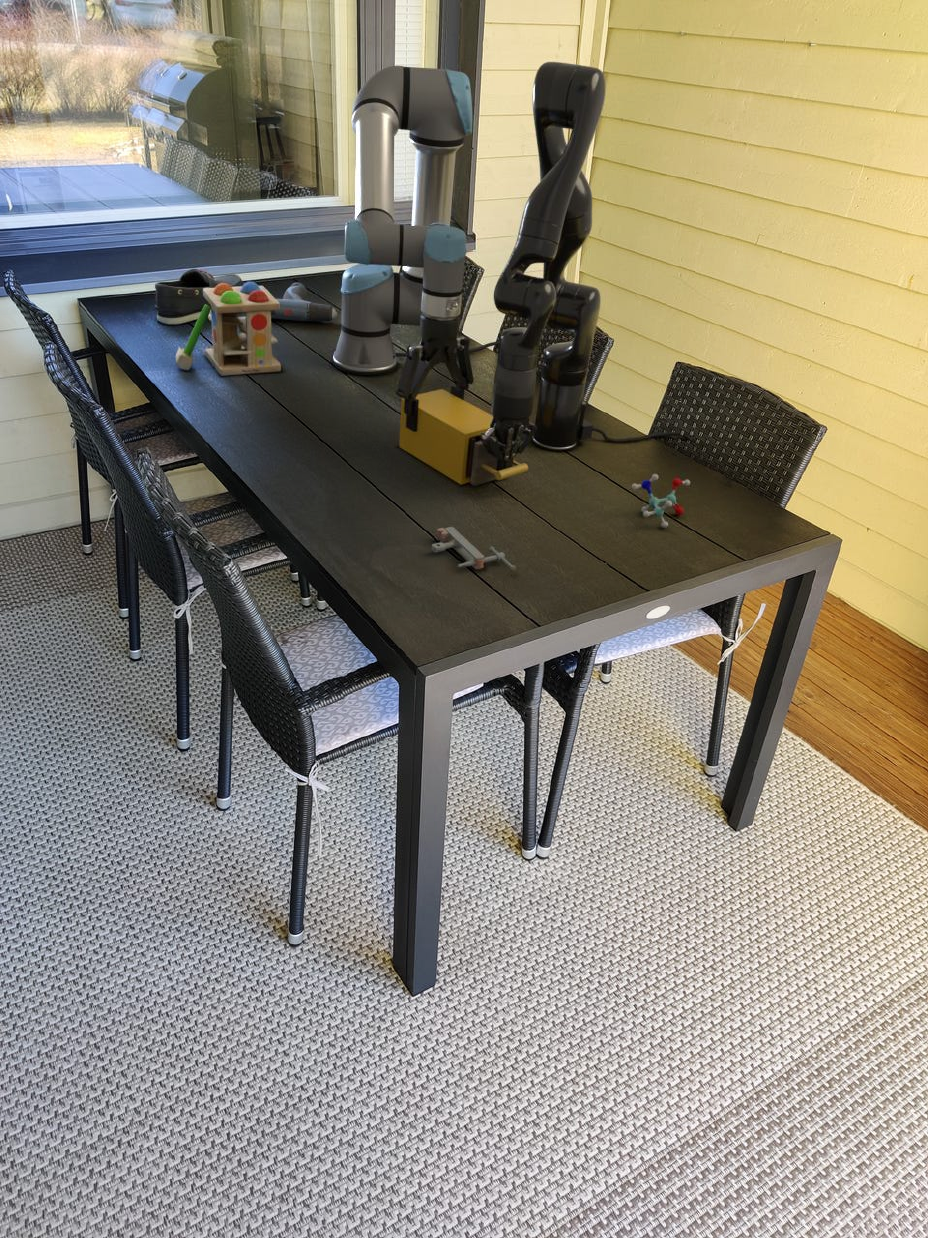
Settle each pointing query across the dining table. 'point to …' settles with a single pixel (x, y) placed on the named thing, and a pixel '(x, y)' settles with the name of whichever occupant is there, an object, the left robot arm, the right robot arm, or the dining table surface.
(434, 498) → the dining table surface
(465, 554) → the clamp
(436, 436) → the cabinet
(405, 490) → the dining table surface
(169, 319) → the boat shoe
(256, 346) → the pounding bench toy
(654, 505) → the molecular model
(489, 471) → the drawer
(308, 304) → the power drill
